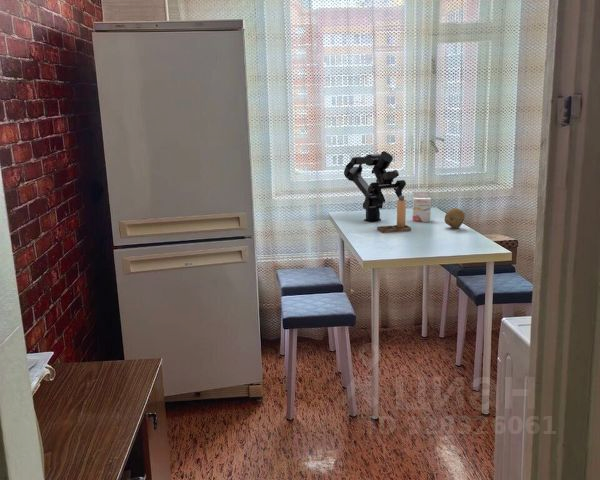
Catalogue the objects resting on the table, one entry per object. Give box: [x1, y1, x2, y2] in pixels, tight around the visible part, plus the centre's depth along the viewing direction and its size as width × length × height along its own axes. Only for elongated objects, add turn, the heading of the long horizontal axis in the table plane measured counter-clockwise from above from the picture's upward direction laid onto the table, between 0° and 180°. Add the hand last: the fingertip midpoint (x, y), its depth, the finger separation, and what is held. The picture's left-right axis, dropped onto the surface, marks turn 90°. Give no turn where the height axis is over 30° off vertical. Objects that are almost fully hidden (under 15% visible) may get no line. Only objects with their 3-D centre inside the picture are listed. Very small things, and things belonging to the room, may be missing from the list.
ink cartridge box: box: [411, 190, 432, 223], centre depth 311 cm, size 9×5×15 cm, turn 84°
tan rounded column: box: [396, 195, 407, 228], centre depth 291 cm, size 4×4×16 cm
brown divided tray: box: [376, 224, 412, 234], centre depth 292 cm, size 14×7×2 cm, turn 103°
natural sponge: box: [444, 207, 466, 230], centre depth 293 cm, size 9×9×10 cm
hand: (393, 200), depth 296 cm, fingers open, 9 cm apart
